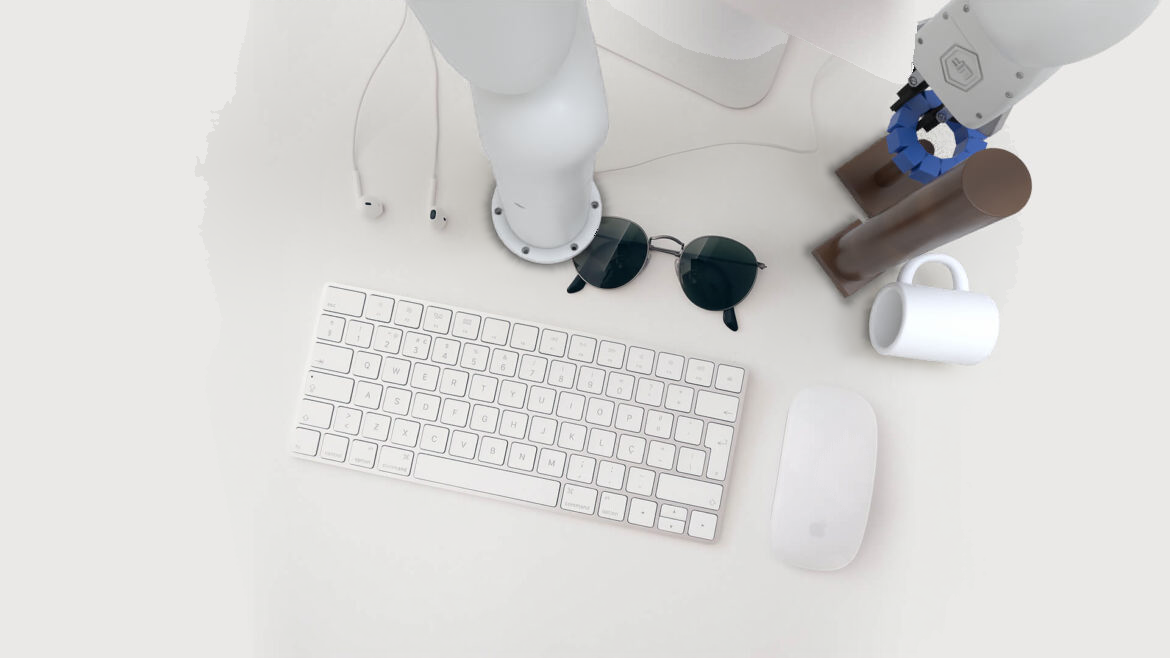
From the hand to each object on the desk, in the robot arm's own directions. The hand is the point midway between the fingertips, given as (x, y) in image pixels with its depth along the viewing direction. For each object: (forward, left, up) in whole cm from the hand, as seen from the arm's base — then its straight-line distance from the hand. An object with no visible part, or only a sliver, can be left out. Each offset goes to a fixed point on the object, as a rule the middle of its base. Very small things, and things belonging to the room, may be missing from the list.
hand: (911, 113), depth 64 cm
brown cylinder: (+9, -9, -11) cm, 17 cm away
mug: (+18, -7, -11) cm, 22 cm away
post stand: (+4, 0, -11) cm, 12 cm away
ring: (+3, 0, 0) cm, 3 cm away
